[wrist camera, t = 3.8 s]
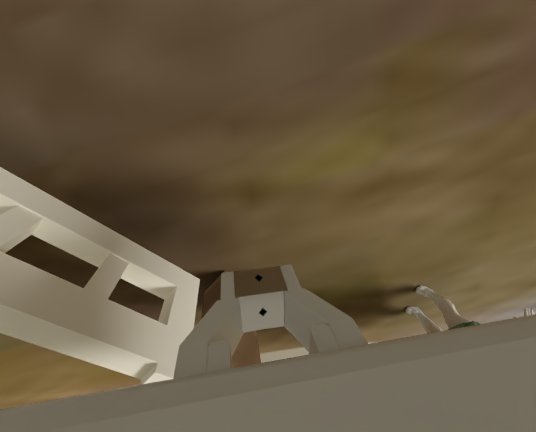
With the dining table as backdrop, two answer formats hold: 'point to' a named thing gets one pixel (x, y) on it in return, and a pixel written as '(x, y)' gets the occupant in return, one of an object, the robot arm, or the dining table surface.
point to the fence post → (248, 343)
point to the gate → (89, 289)
